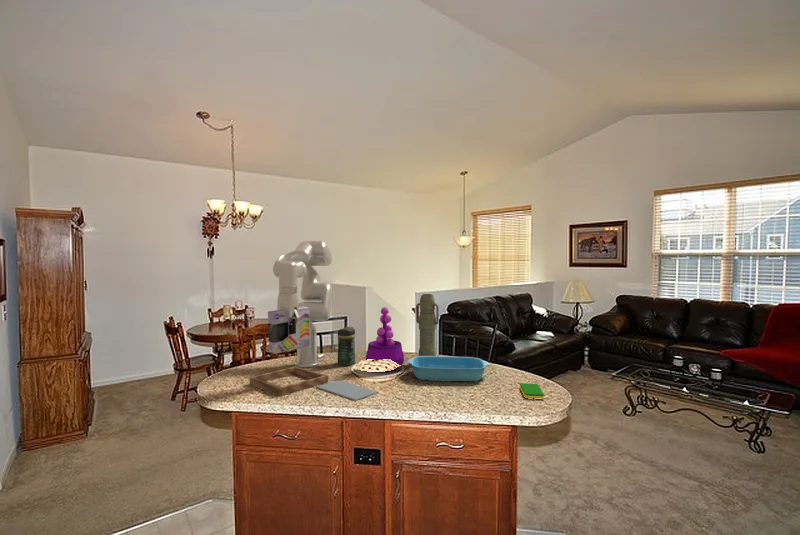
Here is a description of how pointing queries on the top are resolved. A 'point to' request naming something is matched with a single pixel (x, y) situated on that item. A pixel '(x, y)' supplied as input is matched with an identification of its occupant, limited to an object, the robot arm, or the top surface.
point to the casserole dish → (448, 368)
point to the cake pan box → (280, 331)
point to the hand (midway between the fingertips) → (288, 332)
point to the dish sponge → (531, 390)
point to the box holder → (281, 391)
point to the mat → (347, 390)
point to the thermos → (427, 324)
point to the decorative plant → (385, 342)
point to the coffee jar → (346, 346)
